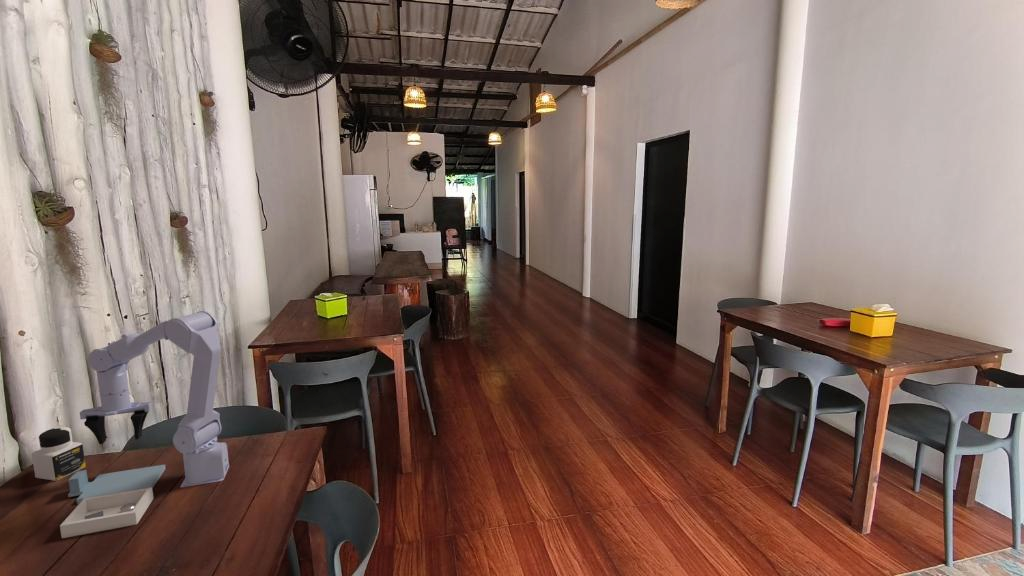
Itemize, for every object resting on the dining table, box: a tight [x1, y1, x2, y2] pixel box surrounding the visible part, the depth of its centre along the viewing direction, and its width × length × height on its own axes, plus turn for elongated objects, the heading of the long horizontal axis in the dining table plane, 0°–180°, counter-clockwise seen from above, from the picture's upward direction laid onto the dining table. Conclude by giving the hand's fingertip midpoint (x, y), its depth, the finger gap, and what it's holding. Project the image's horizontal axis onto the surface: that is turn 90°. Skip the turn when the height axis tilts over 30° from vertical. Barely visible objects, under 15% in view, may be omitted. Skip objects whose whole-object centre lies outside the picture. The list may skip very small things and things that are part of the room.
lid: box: [67, 464, 166, 505], centre depth 115 cm, size 17×11×5 cm, turn 111°
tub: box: [59, 487, 154, 539], centre depth 103 cm, size 13×10×4 cm
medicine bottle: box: [31, 426, 86, 482], centre depth 121 cm, size 7×7×12 cm
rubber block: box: [85, 511, 104, 519], centre depth 102 cm, size 3×2×2 cm, turn 131°
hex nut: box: [120, 503, 136, 513], centre depth 105 cm, size 3×3×1 cm
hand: (120, 439), depth 121 cm, fingers open, 7 cm apart
